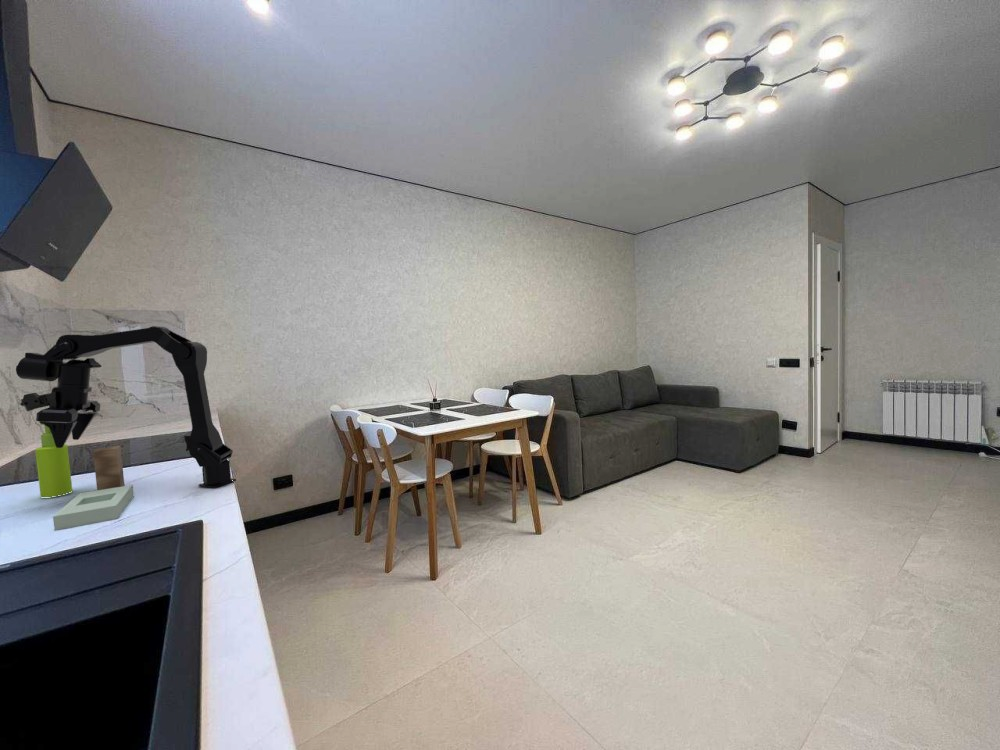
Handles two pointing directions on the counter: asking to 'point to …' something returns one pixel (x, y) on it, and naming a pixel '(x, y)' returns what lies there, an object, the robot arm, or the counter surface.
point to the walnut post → (108, 467)
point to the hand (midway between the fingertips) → (67, 443)
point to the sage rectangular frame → (93, 507)
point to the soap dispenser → (53, 467)
